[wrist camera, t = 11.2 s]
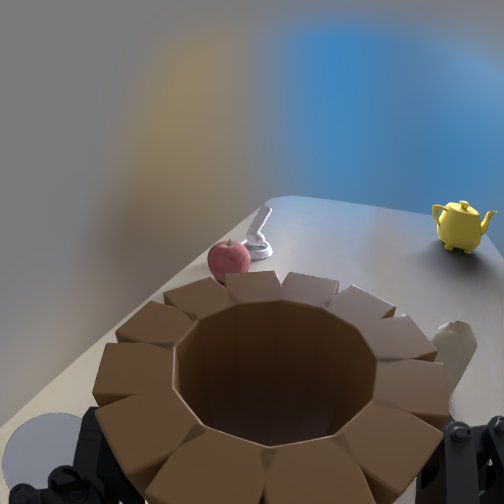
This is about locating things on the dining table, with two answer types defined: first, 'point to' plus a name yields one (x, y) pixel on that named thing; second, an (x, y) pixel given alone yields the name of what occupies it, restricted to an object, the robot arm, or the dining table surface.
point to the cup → (40, 449)
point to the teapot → (460, 225)
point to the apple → (228, 259)
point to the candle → (454, 350)
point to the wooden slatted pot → (271, 394)
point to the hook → (258, 235)
